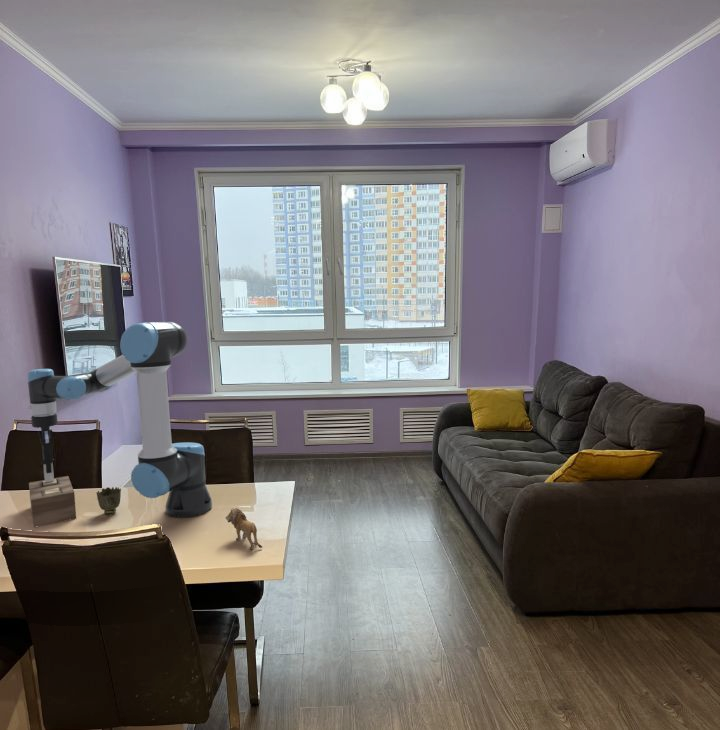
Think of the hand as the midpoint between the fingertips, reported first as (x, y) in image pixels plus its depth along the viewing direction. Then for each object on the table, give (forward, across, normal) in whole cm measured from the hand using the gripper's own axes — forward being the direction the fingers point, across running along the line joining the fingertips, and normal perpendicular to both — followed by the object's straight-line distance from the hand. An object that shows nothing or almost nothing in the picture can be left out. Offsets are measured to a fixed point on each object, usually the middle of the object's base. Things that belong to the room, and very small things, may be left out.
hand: (49, 481), depth 179 cm
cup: (+10, +17, +16) cm, 25 cm away
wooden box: (+10, +5, 0) cm, 11 cm away
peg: (+8, 0, 0) cm, 8 cm away
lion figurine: (+10, +64, +45) cm, 79 cm away
